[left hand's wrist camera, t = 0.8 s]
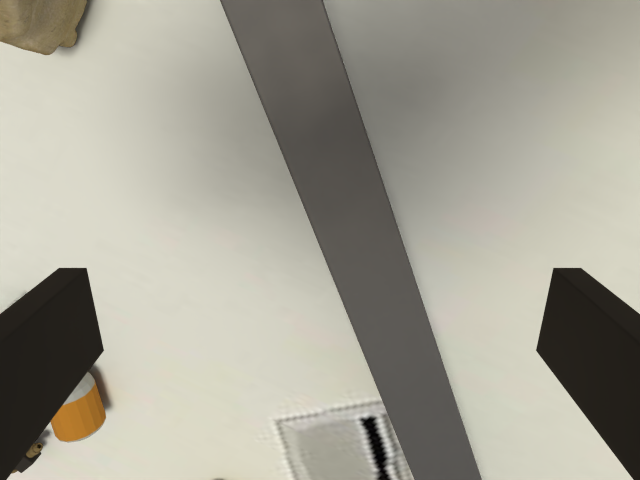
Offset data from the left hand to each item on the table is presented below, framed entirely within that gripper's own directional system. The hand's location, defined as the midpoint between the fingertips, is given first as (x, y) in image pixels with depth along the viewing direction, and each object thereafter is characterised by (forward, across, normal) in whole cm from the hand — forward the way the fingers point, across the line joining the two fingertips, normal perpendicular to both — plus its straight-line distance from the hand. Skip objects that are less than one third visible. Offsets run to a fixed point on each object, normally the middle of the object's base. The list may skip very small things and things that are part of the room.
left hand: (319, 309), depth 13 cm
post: (+23, +9, -20) cm, 32 cm away
